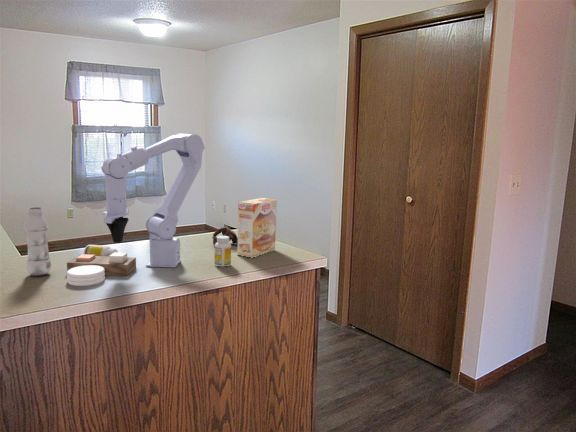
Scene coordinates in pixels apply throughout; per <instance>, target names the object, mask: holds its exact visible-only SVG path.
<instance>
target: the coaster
mask: <svg viewBox="0 0 576 432" xmlns="http://www.w3.org/2000/svg"><path fill="white" fill-rule="evenodd" d="M66 271H67V270H66ZM104 271H105V269H104V268H103V267H101V266H97V265H84V266H78V267H74V268H71V269H70V270H68V271H67V272H66V275H67V276H66V279H67V280H66V281H67V284H68V285H70V286H73V287H88V286H93V285H98V284H101V283H103V282H104V281H105V280H106V275H105V273H104Z"/></svg>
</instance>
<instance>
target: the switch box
mask: <svg viewBox="0 0 576 432" xmlns="http://www.w3.org/2000/svg"><path fill="white" fill-rule="evenodd" d="M79 256H80V255H78V256H76V257H74V258H73V259H71V260H69V261H67V262H66V271H68V270H70V269H71V268H74V267H78V266H84V265H97V266H101V267H103V268H104V269H105V271H104V273H105V276H116V277H118V276H119V277H120V276H121V277H128V276H129V275H130V274H131V273H132V272H134V271H135V270H136V269H137V257H135V256H134V257H132V256H130V257H129V256H127V261H126V262H124V263H110V262H109V257H107V256H95V259H94V260H93V261H91V262H78V261H77V260H76V258H77V257H79Z"/></svg>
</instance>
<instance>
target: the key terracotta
mask: <svg viewBox="0 0 576 432" xmlns="http://www.w3.org/2000/svg"><path fill="white" fill-rule="evenodd" d="M78 256H79V257H77V256H76V257H77V258H76V257H75V258H76V260H77V261H78V262H91V261H93V260H94V259H95V255H87V254H84V253H81V255H78Z"/></svg>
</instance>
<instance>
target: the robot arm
mask: <svg viewBox="0 0 576 432" xmlns="http://www.w3.org/2000/svg"><path fill="white" fill-rule="evenodd" d="M205 149H206V147H205V144H204V141H203V139H202V137H201V136H200V135H198V134H196V133H192V134H189V133H181V132H180V133H177V134H175V135H174V134H173V135H170V136H168V137H167V138H164V139H162V140H160V141H158V142H156V143H154V144H152V145H150V146H148V147H145V148H143V147H141V146H138V147H137V146H132V147H130V150H128V151H126V152H124V153H116V157H108V158H106V159H105V160H104V161H103V163H102V166H101V167H100V169H101V171H102V173H103V174H104V175H105V176H104V177H105V178H104V179H105V180H104V181H105V183H104V184H105V204H106V207H105V208H106V210H105V211H103V212H102V215H104V216H103V223H104V224H106V225H107V227H108V229H109V231H110V235H111V238H112V240H113V243H119V244H120V243H122V242H123V239H124V235H125V234H124V233H125V229H126V227H127V224H128V223H129V218H128V217H126V216H129V208H127V204H128V203H127V181H126V177H127V176H128V174H129V173H131V172H133V171H135V170H137V169H139V168H142V167H144V166H146V165H148V164H149V161H150V159H151V158H155V157H157V156H160V155H162V154H164V153H165V154H166V153H167V152H170V151H175V152H176V153H177V155H178V156H179V157H180V159H181V162H182V166H181V168H180V170H179V172H178V174H177V177H176V178H175V180H174V182H173V183H172V186H171V187H170V189H169V191H168V193H167V195H166V197H165V198H164V200H163V202H162V204H161V206H160V207H158V208H157V209H156V210H155V211H154V212H153V213H152V214H151V216H149V217H148V218H147V220H146V222H145V229H146V230H147V232H148V233H149V261H148V263H146V264H145V266H146V267H149V268H150V267H151V268H152V267H155V268H176V267H177V266H178V265H179V264H180V262H181V261H182V260H181V240H180V238H178V237H173V236H174V235H175V234H176V231H177V224H178V222H179V217H178V212H179V210H180V208H181V206H182V204H183V202H184V201H185V199H186V196H187V195H188V193H189V191H190V189H191V187H192V185H193V183H194V181H195V179H196V177H197V175H198V173H199V172H200V170H201V167H202V163H203V162H202V161H203V152H204V150H205Z"/></svg>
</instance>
